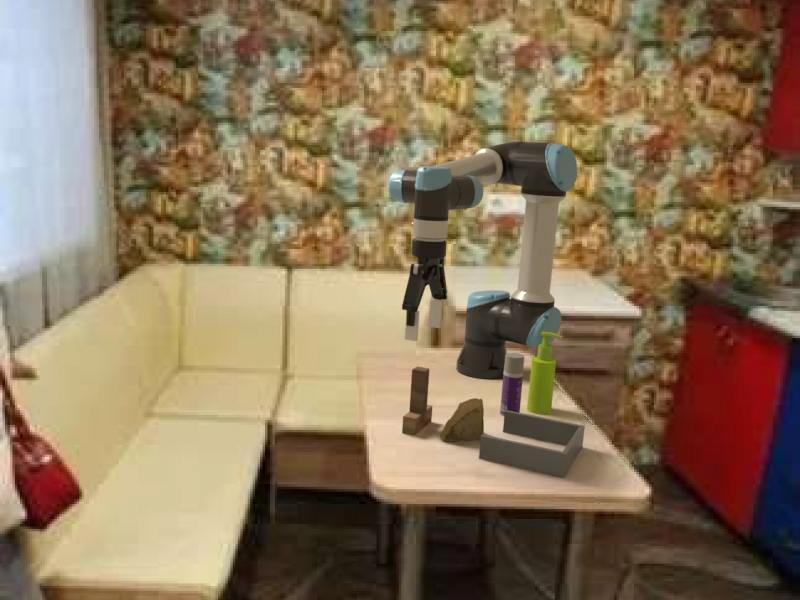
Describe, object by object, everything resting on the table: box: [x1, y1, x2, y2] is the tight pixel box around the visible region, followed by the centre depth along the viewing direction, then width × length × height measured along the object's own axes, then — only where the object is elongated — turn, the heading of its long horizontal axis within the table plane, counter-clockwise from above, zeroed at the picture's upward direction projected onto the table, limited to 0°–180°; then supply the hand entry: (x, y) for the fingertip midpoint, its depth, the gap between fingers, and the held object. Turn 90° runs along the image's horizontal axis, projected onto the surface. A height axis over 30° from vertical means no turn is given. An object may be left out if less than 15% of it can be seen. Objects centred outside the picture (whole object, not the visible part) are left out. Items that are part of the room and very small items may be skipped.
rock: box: [439, 397, 485, 442], centre depth 176 cm, size 11×9×10 cm
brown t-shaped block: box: [401, 365, 433, 437], centre depth 179 cm, size 10×3×14 cm, turn 155°
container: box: [499, 352, 525, 417], centre depth 191 cm, size 5×5×15 cm
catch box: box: [478, 410, 586, 478], centre depth 170 cm, size 18×18×5 cm
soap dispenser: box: [526, 331, 564, 415], centre depth 194 cm, size 6×7×20 cm
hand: (423, 333), depth 176 cm, fingers open, 13 cm apart
